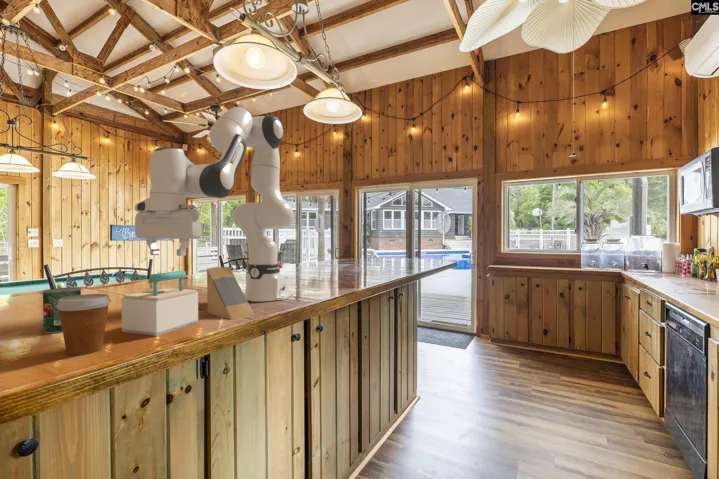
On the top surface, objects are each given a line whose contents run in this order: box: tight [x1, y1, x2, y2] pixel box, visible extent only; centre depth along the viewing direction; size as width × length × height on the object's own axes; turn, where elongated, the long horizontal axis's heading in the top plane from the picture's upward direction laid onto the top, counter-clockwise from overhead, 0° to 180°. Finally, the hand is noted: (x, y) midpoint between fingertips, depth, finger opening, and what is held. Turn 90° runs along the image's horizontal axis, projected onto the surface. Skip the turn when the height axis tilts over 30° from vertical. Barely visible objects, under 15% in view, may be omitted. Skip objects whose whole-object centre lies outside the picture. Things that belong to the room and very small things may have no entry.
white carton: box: [121, 291, 199, 337], centre depth 94 cm, size 14×12×9 cm
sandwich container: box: [206, 266, 256, 320], centre depth 111 cm, size 9×15×15 cm, turn 51°
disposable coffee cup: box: [56, 293, 112, 356], centre depth 75 cm, size 10×10×12 cm
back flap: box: [122, 287, 179, 299], centre depth 95 cm, size 13×6×1 cm, turn 162°
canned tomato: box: [42, 286, 82, 334], centre depth 92 cm, size 8×8×11 cm
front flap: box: [142, 270, 198, 300], centre depth 93 cm, size 13×6×6 cm, turn 162°
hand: (167, 255), depth 93 cm, fingers open, 8 cm apart
